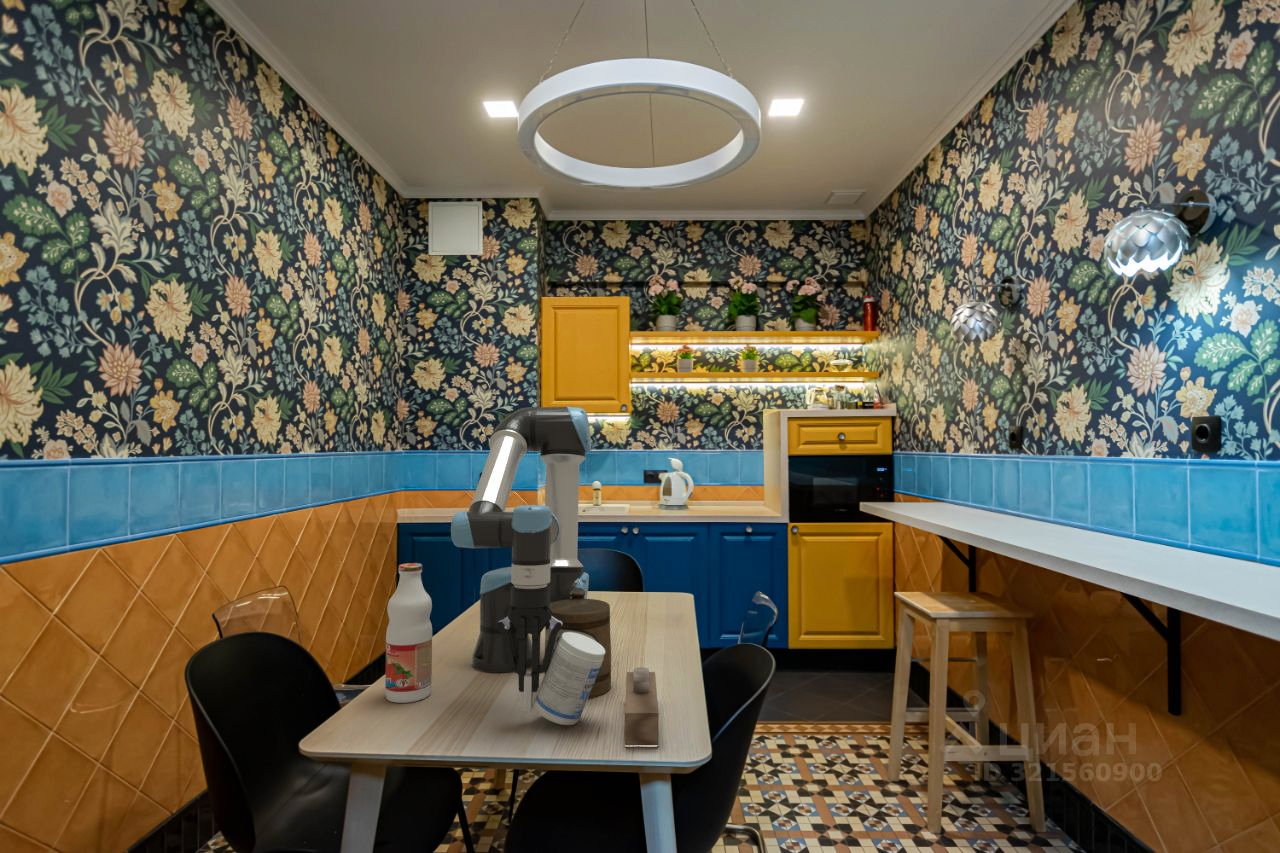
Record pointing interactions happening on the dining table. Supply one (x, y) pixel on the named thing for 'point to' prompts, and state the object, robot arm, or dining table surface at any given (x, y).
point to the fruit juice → (409, 639)
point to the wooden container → (586, 629)
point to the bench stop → (641, 708)
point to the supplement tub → (569, 678)
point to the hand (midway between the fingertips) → (528, 708)
